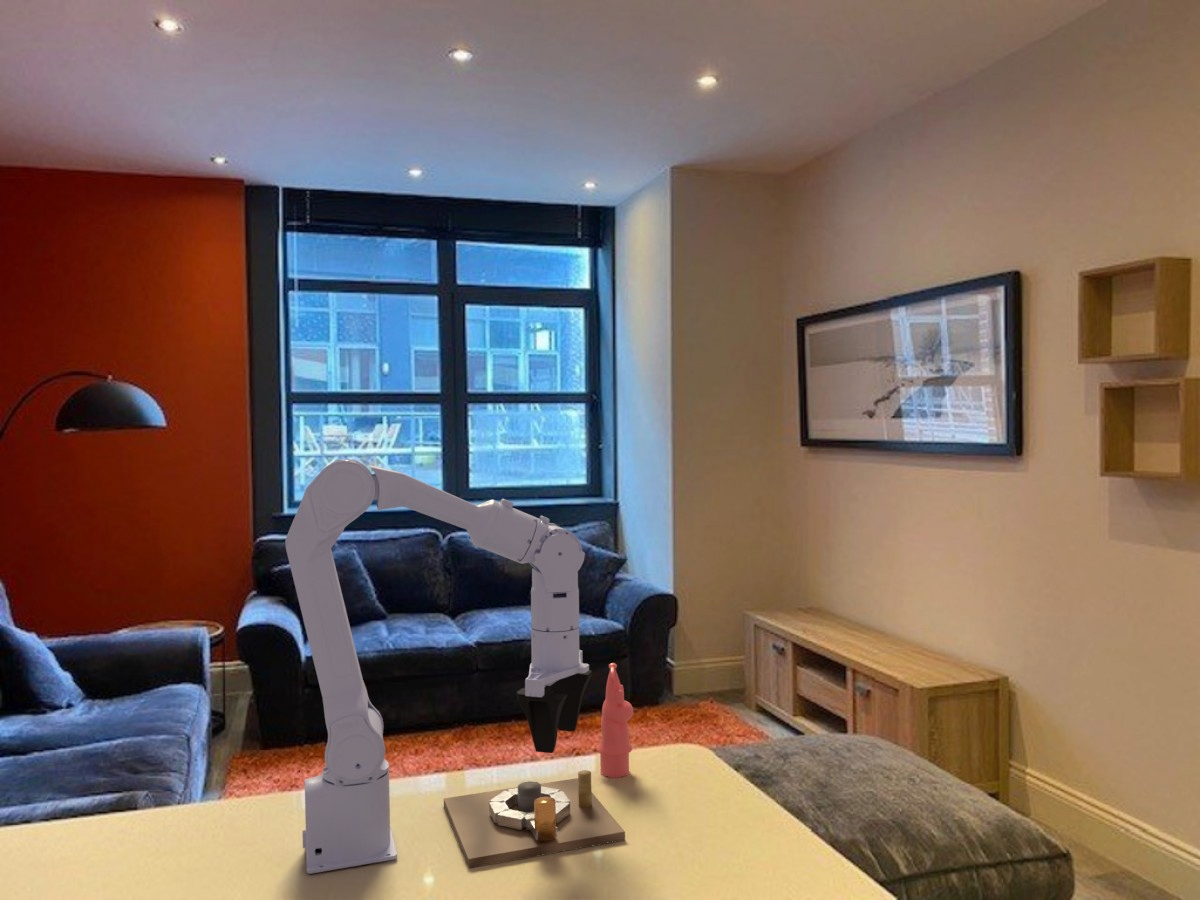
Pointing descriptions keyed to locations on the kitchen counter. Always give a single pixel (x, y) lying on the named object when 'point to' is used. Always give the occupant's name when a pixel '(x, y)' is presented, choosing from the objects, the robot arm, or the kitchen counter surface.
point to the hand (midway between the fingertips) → (556, 740)
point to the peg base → (502, 843)
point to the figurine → (615, 729)
